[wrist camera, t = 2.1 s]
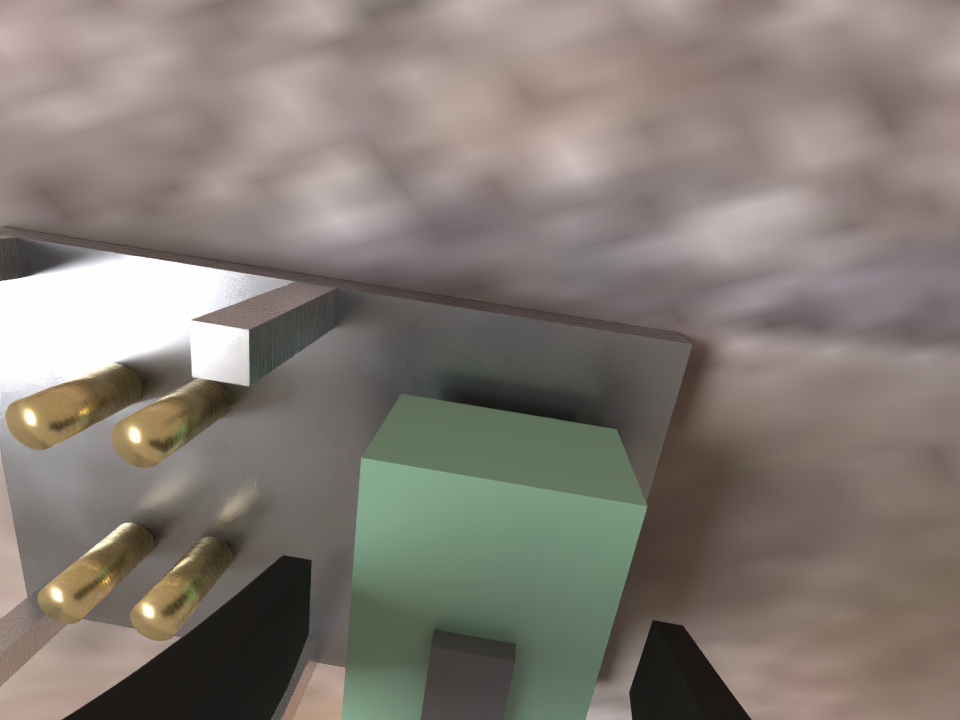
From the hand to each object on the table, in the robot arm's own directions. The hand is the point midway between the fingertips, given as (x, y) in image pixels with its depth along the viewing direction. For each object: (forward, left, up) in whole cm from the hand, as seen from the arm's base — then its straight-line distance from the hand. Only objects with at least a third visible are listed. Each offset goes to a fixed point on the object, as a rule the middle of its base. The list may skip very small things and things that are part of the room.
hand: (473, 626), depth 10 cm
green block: (0, 0, -2) cm, 2 cm away
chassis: (+5, 0, -4) cm, 7 cm away
